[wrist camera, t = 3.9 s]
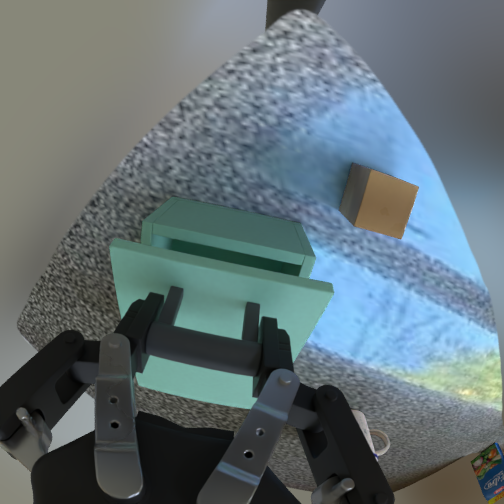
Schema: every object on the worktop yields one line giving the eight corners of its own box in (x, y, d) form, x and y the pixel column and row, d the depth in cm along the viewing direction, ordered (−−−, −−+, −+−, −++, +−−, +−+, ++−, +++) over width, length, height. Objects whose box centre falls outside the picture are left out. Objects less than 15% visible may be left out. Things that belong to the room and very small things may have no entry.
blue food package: (497, 442, 56) (517, 486, 33) (474, 460, 60) (491, 504, 37) (494, 442, 55) (514, 488, 32) (470, 461, 59) (487, 507, 36)
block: (352, 162, 23) (371, 168, 19) (395, 177, 23) (419, 187, 19) (338, 210, 25) (353, 226, 20) (380, 222, 25) (401, 239, 21)
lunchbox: (172, 196, 24) (141, 220, 18) (301, 223, 25) (316, 257, 18) (160, 332, 30) (140, 378, 24) (260, 353, 31) (260, 403, 24)
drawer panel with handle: (114, 237, 14) (70, 303, 10) (332, 282, 15) (346, 361, 11) (140, 378, 24) (127, 422, 20) (261, 403, 24) (257, 449, 21)
